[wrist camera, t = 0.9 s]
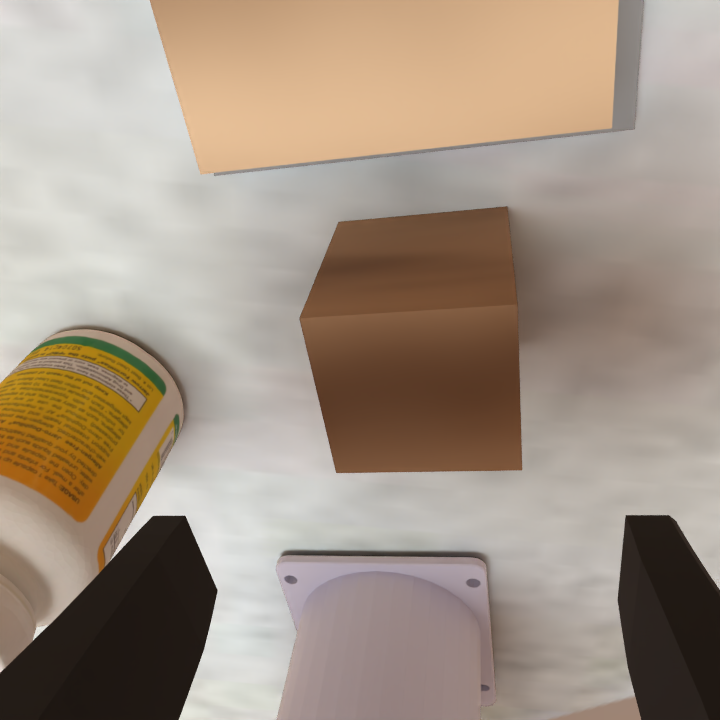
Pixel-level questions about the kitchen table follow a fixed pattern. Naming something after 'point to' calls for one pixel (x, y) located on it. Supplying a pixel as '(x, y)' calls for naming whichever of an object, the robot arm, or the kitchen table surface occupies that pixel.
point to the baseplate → (622, 120)
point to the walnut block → (418, 344)
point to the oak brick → (383, 74)
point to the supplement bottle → (74, 468)
